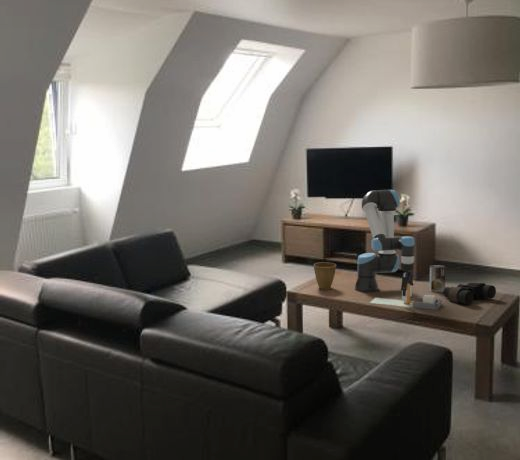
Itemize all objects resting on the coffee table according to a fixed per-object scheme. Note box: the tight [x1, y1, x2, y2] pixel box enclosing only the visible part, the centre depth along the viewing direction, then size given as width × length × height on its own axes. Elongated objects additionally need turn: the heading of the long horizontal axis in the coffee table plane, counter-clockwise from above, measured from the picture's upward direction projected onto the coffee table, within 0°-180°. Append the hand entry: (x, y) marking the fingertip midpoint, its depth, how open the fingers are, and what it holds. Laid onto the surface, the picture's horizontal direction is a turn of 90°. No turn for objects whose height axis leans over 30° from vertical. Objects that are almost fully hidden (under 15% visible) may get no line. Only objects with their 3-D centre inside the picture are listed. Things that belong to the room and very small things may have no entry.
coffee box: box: [428, 264, 446, 293], centre depth 397 cm, size 9×6×16 cm
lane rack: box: [369, 297, 442, 311], centre depth 368 cm, size 40×12×4 cm, turn 63°
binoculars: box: [442, 282, 497, 305], centre depth 375 cm, size 29×20×10 cm
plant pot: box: [313, 261, 337, 290], centre depth 409 cm, size 15×15×16 cm
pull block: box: [404, 283, 436, 305], centre depth 364 cm, size 18×6×12 cm, turn 63°
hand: (406, 298), depth 368 cm, fingers open, 11 cm apart
